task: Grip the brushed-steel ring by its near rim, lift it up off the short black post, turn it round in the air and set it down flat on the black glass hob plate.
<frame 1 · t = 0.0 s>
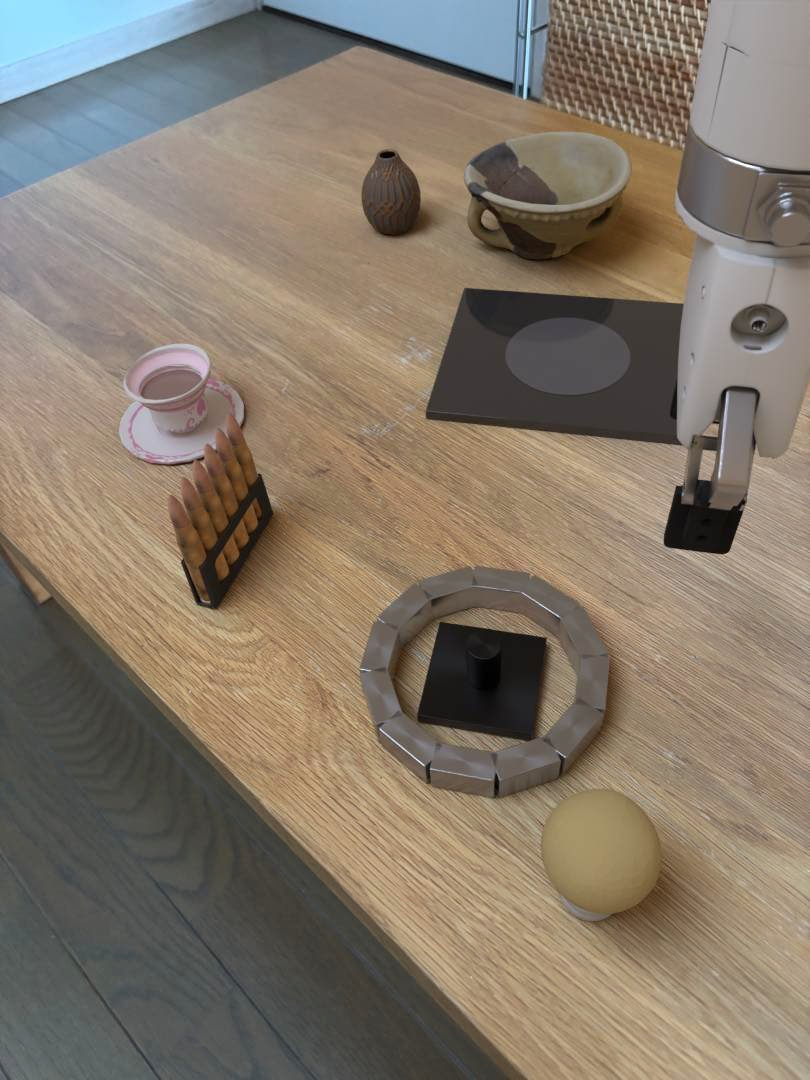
hand: (696, 478, 47), 20 cm above the table, tool pointing down, fingers open, 9 cm apart
ammunition clip: (237, 558, 72), on the table
hob plate: (566, 363, 85), on the table
steel ring: (483, 682, 62), on the table
vase: (393, 227, 103), on the table
light bulb: (587, 893, 52), on the table
bowl: (541, 245, 99), on the table
ring stand: (483, 682, 62), on the table
teacup: (183, 423, 83), on the table
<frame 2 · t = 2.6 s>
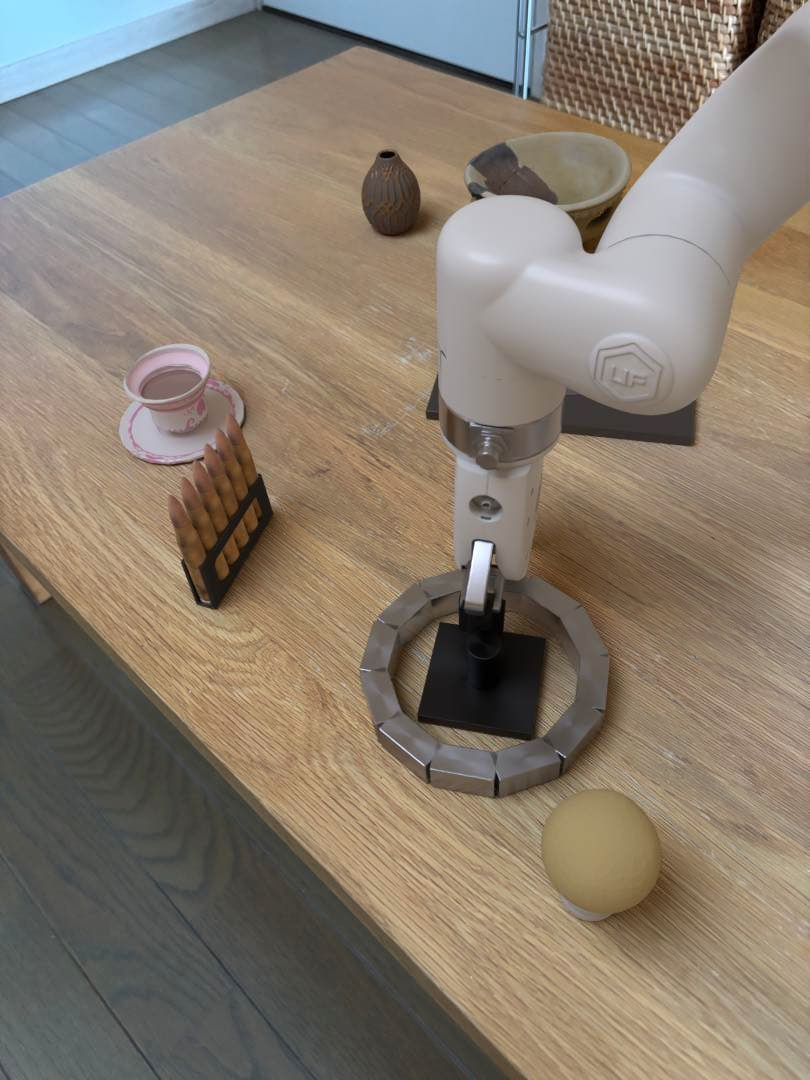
hand: (492, 578, 65), 2 cm above the table, tool pointing down, fingers open, 9 cm apart
nothing on the table moved.
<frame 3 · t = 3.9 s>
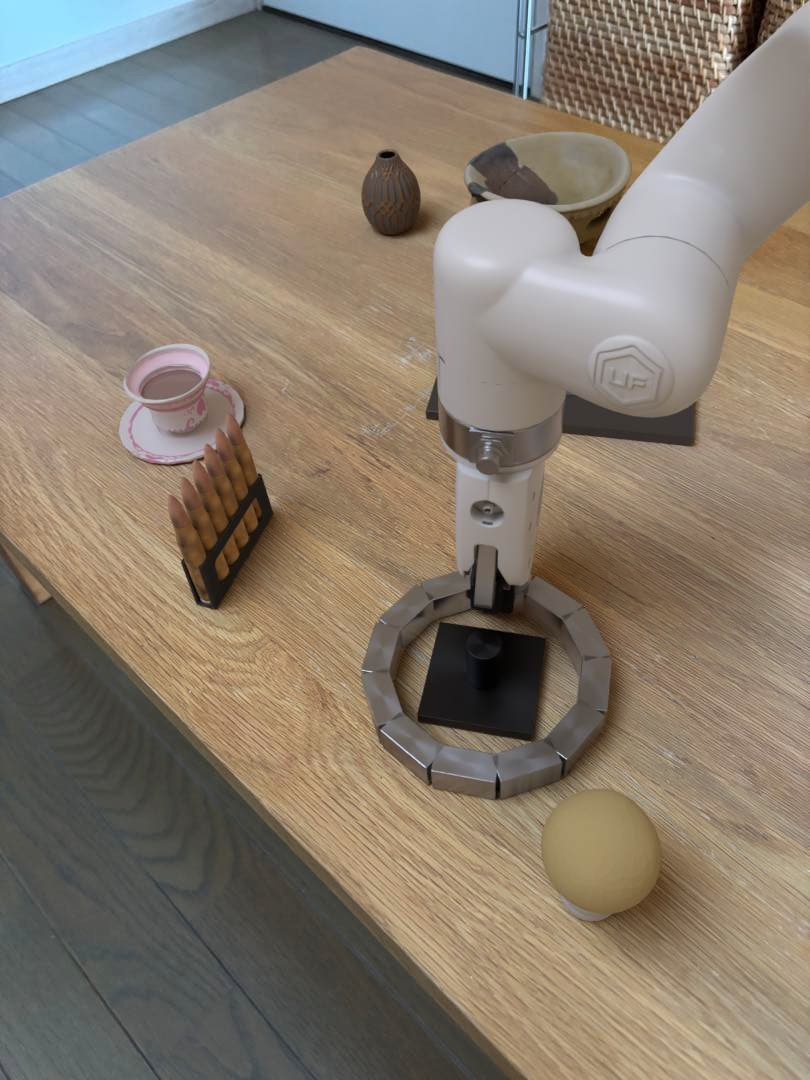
hand: (494, 592, 66), 1 cm above the table, tool pointing down, fingers closed on steel ring, 2 cm apart
steel ring: (485, 683, 62), on the table, touching gripper
everything else where it was.
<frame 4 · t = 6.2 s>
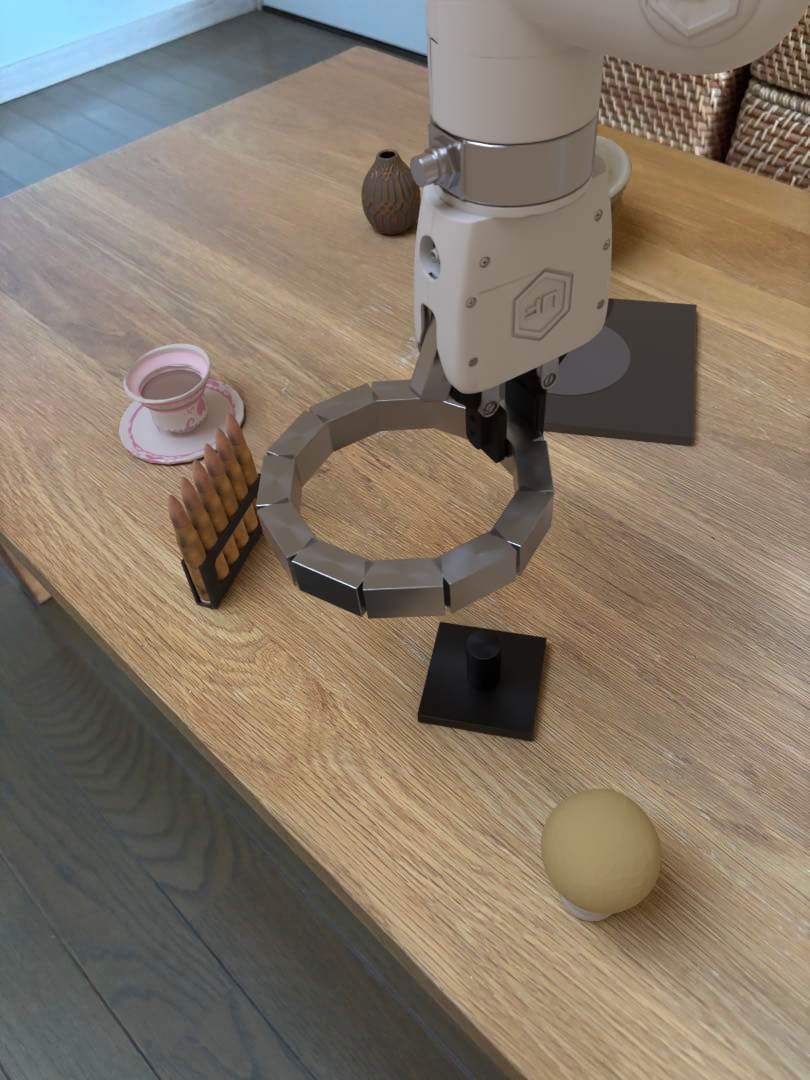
hand: (505, 437, 54), 17 cm above the table, tool pointing down, fingers closed on steel ring
steel ring: (406, 502, 52), point 16 cm above the table, touching gripper
everything else where it was.
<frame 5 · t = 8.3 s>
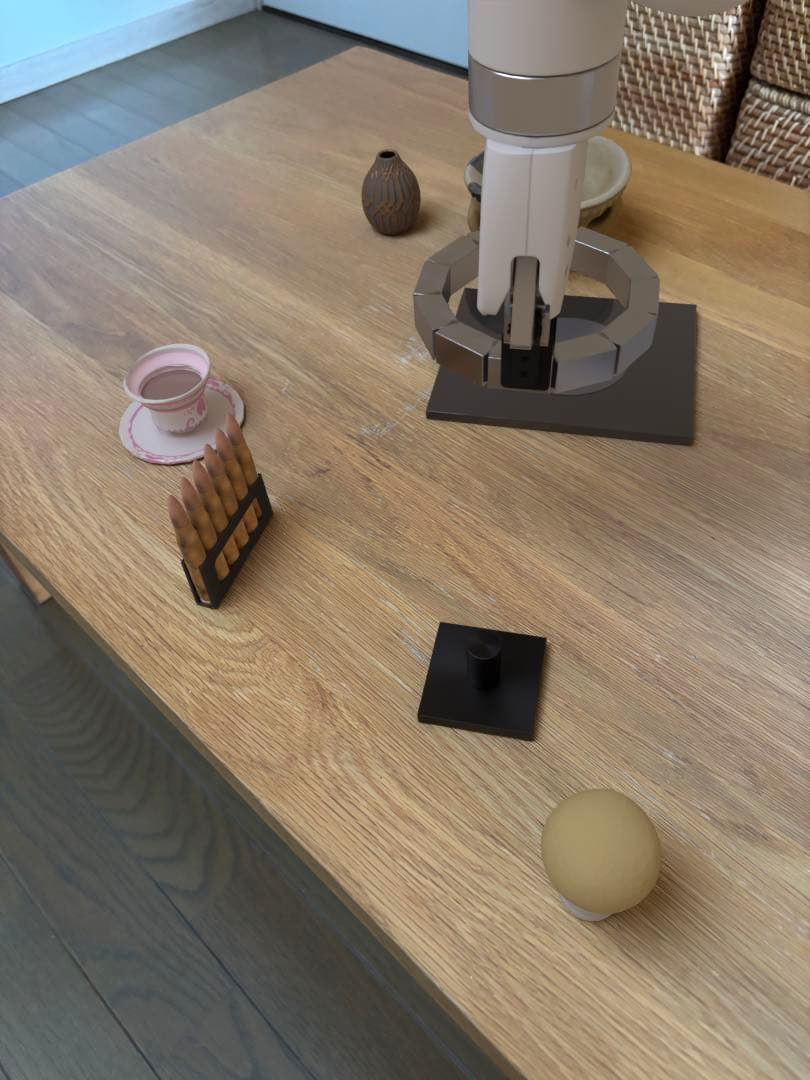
hand: (527, 371, 58), 17 cm above the table, tool pointing down, fingers closed on steel ring
steel ring: (533, 316, 63), point 16 cm above the table, touching gripper
everything else where it was.
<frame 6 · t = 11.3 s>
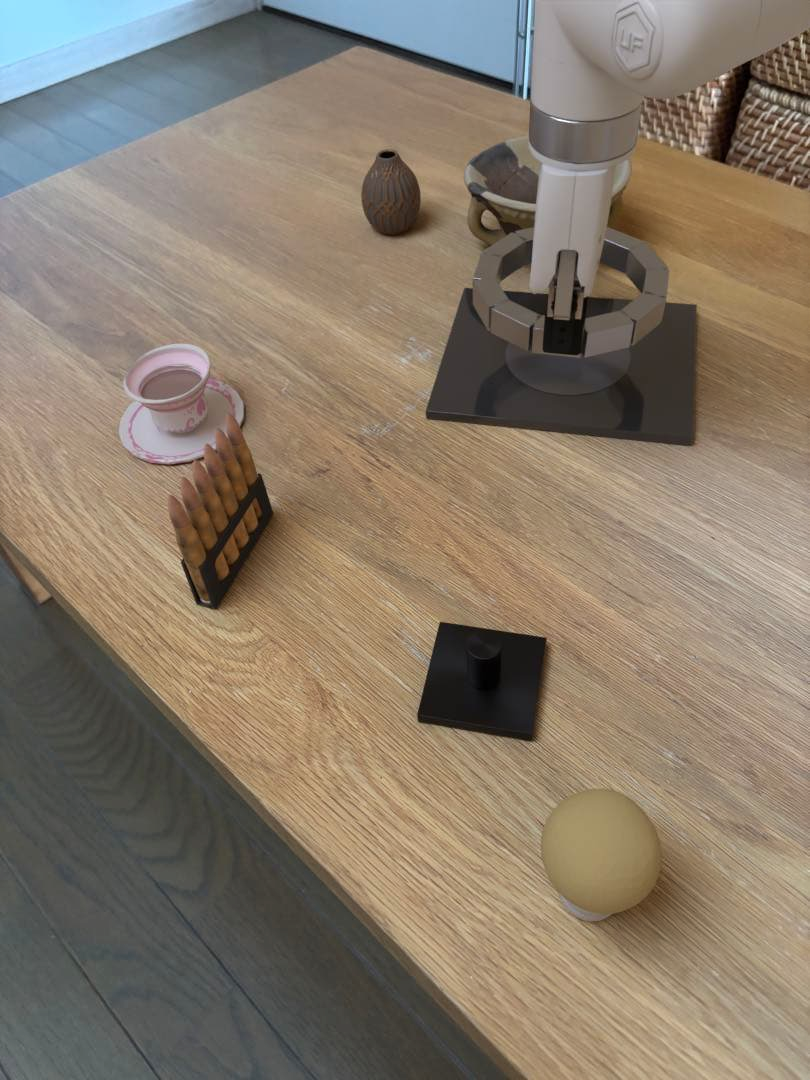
hand: (563, 340, 74), 8 cm above the table, tool pointing down, fingers closed on steel ring
steel ring: (567, 298, 79), point 7 cm above the table, touching gripper
everything else where it was.
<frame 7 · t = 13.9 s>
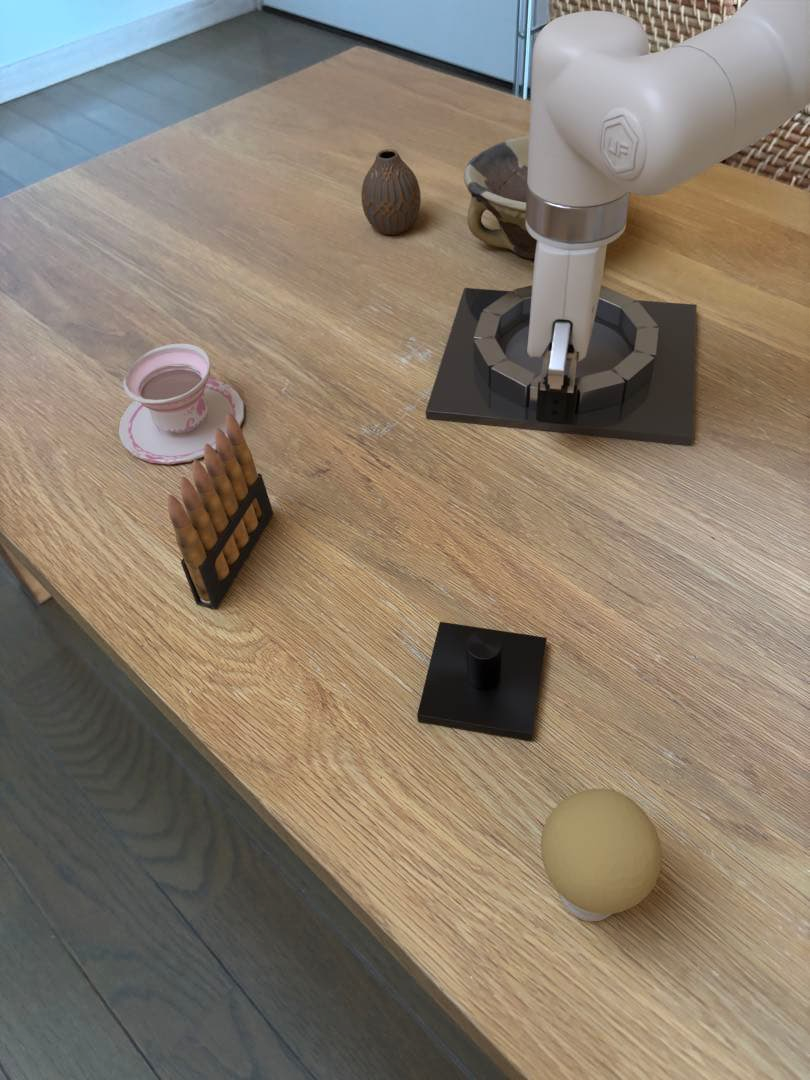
hand: (561, 384, 77), 3 cm above the table, tool pointing down, fingers open, 9 cm apart
steel ring: (563, 354, 84), point 1 cm above the table, touching hob plate
everything else where it was.
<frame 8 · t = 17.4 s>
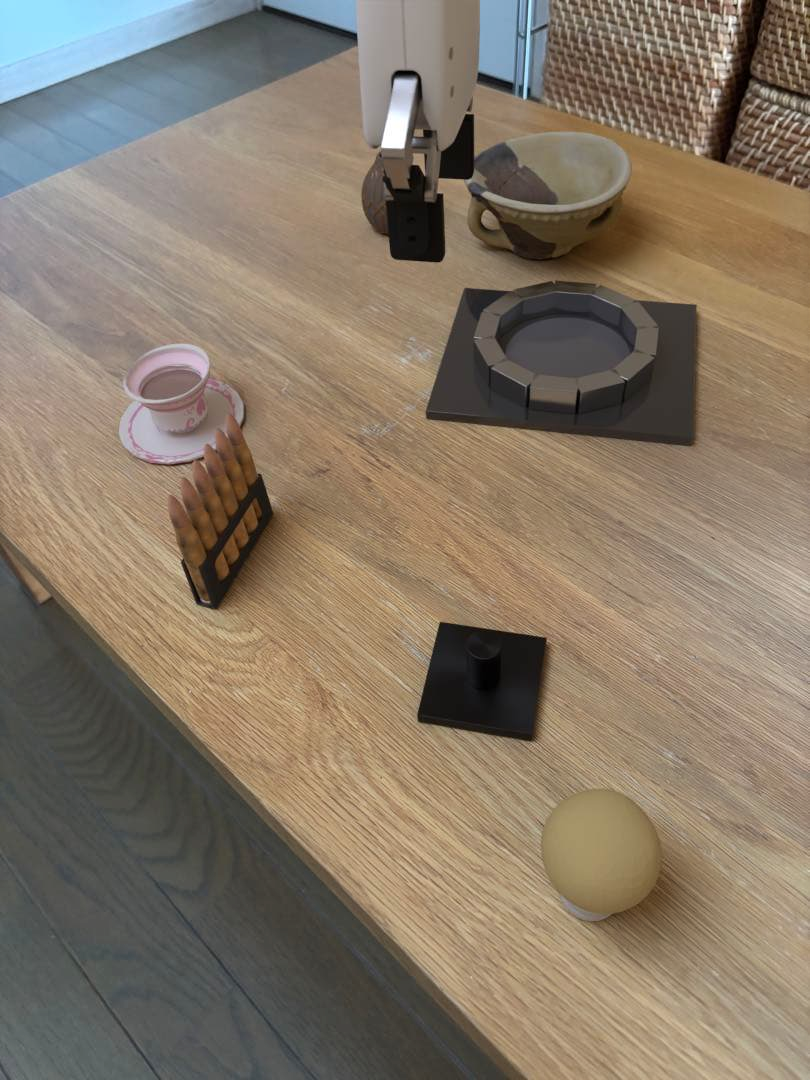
hand: (434, 215, 54), 26 cm above the table, tool pointing down, fingers open, 9 cm apart
nothing on the table moved.
at the end: steel ring inside the target area on the hob plate (0.4 cm from its centre), point 1.0 cm above the hob plate's base; steel ring tilted 0°; steel ring moved 37.1 cm from its start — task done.
